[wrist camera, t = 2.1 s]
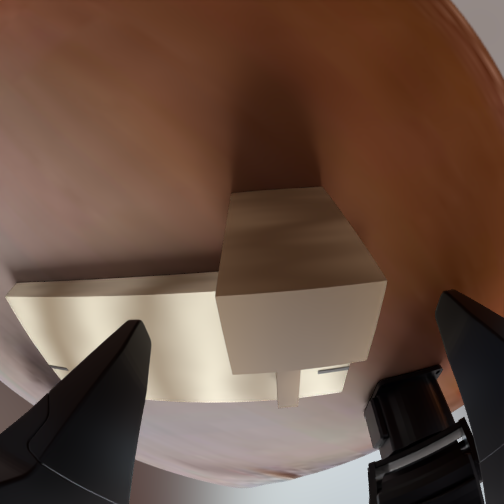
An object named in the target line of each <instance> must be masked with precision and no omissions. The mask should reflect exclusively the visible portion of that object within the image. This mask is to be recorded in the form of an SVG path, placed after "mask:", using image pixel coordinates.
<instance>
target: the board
mask: <svg viewBox="0 0 504 504" xmlns="http://www.w3.org/2000/svg"><path fill="white" fill-rule="evenodd" d="M217 279H218V272H206V273H192V274H177V275H162V276H146V277H130V278H112V279H94V280H74V281H52V282H28V283H16V284H15V286H14V287H13V288H12V289H11V290H10V291H9V293H8V294H7V295H6V296H5V297H6V299H7V301H8V303H9V304H10V306H11V308H12V310H13V311H14V313H15V315H16V316H17V318H18V320H19V321H20V323H21V325H22V326H23V328H24V329H25V331H26V332H27V334H28V335H29V337H30V338H31V340H32V341H33V343H34V344H35V346H36V347H37V349H38V350H39V352H40V353H41V354H42V356H43V357H44V358H45V360H46V361H47V362H48V364H49V366H50V367H51V368H52V369H53V370H54V372H55V373H56V374H57V375H58V377H59V378H60V379H61V380H62V379H63V378H64V377H65V376H66V375H67V374H69V373H70V372H71V371H72V370H73V369H74V368H75V367H76V366H77V365H78V364H79V363H80V362H82V361H83V360H84V359H85V358H86V357H87V356H88V355H89V354H90V353H91V352H93V351H94V350H95V349H96V348H97V347H98V346H99V345H100V344H101V343H103V342H104V341H105V340H106V339H107V338H108V337H109V336H110V335H111V334H113V333H114V332H115V331H116V330H117V329H118V328H119V327H120V326H122V325H123V324H124V323H125V322H126V321H127V320H130V319H139V320H142V321H143V323H144V325H145V327H146V330H147V332H148V334H149V336H150V339H151V344H152V347H151V356H150V365H149V375H148V386H147V393H146V400H159V401H175V402H251V401H268V400H277V380H276V372H273V373H259V374H241V375H233V374H232V370H231V366H230V362H229V358H228V353H227V349H226V345H225V340H224V336H223V331H222V327H221V322H220V318H219V313H218V309H217V304H216V299H215V293H216V286H217ZM349 364H350V363H349ZM349 364H342V365H336V366H328V367H321V368H313V369H305V370H301V373H300V388H299V398H301V397H310V396H318V395H325V394H332V393H338V392H342V390H343V386H344V383H345V379H346V375H347V372H348V370H349Z"/></svg>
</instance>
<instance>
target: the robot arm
mask: <svg viewBox="0 0 504 504" xmlns="http://www.w3.org/2000/svg"><path fill="white" fill-rule="evenodd" d="M435 318H436V321H437V324H438V327H439V331H440V334H441V337H442V340H443V344H444V347H445V350H446V354H447V357H448V360H449V363H450V365H451V368H452V371H453V373H454V376H455V379H456V382H457V384H458V387H459V390H460V393H461V396H462V399H463V402H464V406H465V409H466V412H467V415H468V418H469V422H470V426H471V429H472V433H473V435H472V433H471V431H470V428H469V426H468V424H467V422H466V420H465V417H463V418H462V419H460V420H459V421H458V422H457V423H455V421H454V419H453V416H452V414H451V411H450V409H449V407H448V404H447V402H446V400H445V397H444V395H443V393H442V391H441V388H440V386H439V384H438V382H437V378H438V377H439V375H440V374H441V372H442V370H443V369H442V367H441V365H438V366H435V367H431V368H428V369H424V370H421V371H417V372H413V373H410V374H406V375H402V376H398V377H393V378H389V379H385V380H382V381H380V382H379V383H378V384H377V387H376V389H375V391H374V393H373V396H372V398H371V400H370V401H369V404H368V406H367V408H366V410H365V412H364V417H365V418H366V422H367V426H368V430H369V434H370V437H371V442H372V446H373V448H375V449H378V448H379V450H380V454H381V458H382V460H379V461H377V462H372V463H369V468H368V481H369V497H370V498H369V504H484V499H483V495H482V491H481V487H480V483H481V482H483V486H484V493H485V501H486V504H504V318H503V317H501V316H500V315H498V314H496V313H495V312H493V311H491V310H490V309H488V308H486V307H485V306H483V305H481V304H479V303H478V302H476V301H474V300H472V299H471V298H469V297H467V296H465V295H464V294H462V293H460V292H458V291H456V290H454V289H451V290H446V291H444V292H443V293H442V294H441V297H440V300H439V302H438V305H437V308H436V311H435ZM151 347H152V344H151V339H150V336H149V334H148V332H147V330H146V327H145V325H144V323H143V321H142V320H139V319H130V320H127V321H126V322H125V323H124V324H123V325H122V326H120V327H119V328H118V329H117V330H116V331H115V332H114V333H113V334H111V335H110V336H109V337H108V338H107V339H106V340H105V341H104V342H103V343H101V344H100V345H99V346H98V347H97V348H96V349H95V350H94V351H93V352H91V353H90V354H89V355H88V356H87V357H86V358H85V359H84V360H83V361H82V362H80V363H79V364H78V365H77V366H76V367H75V368H74V369H73V370H72V371H71V372H70V373H69V374H67V375H66V376H65V377H64V378H63V379H62V380H61V381H60V382H59V383H58V384H57V385H56V386H55V387H54V388H52V389H51V390H50V391H49V393H47V394H46V395H45V396H44V397H43V398H42V399H41V400H40V401H39V402H38V403H36V404H35V405H34V406H33V407H32V408H31V409H30V410H29V411H28V412H27V413H25V414H24V415H23V416H22V417H21V418H19V419H18V420H17V421H16V422H14V423H13V424H12V425H11V426H9V427H8V428H7V429H6V430H5V431H3V432H2V433H1V434H0V504H129V500H130V491H131V483H132V476H133V468H134V461H135V455H136V449H137V442H138V436H139V431H140V425H141V420H142V414H143V409H144V404H145V399H146V393H147V386H148V375H149V365H150V356H151ZM460 437H462V439H463V440H462V441H461V442H459V443H458V441H457V439H459V438H460Z"/></svg>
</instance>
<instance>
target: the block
mask: <svg viewBox="0 0 504 504" xmlns="http://www.w3.org/2000/svg"><path fill="white" fill-rule="evenodd" d="M386 285H387V279H386V278H385V276H384V274H383V273H382V271H381V270H380V268H379V267H378V265H377V263H376V262H375V260H374V259H373V257H372V256H371V254H370V253H369V251H368V250H367V248H366V247H365V245H364V244H363V242H362V241H361V239H360V238H359V236H358V235H357V234H356V232H355V231H354V229H353V228H352V226H351V225H350V224H349V222H348V221H347V219H346V218H345V217H344V215H343V214H342V212H341V211H340V210H339V208H338V207H337V206H336V204H335V203H334V201H333V200H332V199H331V197H330V196H329V195H328V193H327V192H326V191H325V189H324V188H323V187H306V188H289V189H275V190H262V191H250V192H238V193H231V198H230V203H229V209H228V215H227V221H226V228H225V234H224V240H223V246H222V253H221V259H220V266H219V272H218V279H217V286H216V293H215V299H216V304H217V309H218V313H219V318H220V322H221V327H222V331H223V336H224V340H225V345H226V349H227V353H228V358H229V362H230V366H231V370H232V374H233V375H241V374H259V373H273V372H276V380H277V400H278V408H288V407H298V401H299V388H300V373H301V370H305V369H313V368H321V367H328V366H336V365H342V364H349V363H355V362H360V361H366V360H367V357H368V354H369V350H370V347H371V344H372V340H373V337H374V333H375V329H376V326H377V322H378V318H379V314H380V310H381V306H382V302H383V298H384V294H385V289H386Z"/></svg>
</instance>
